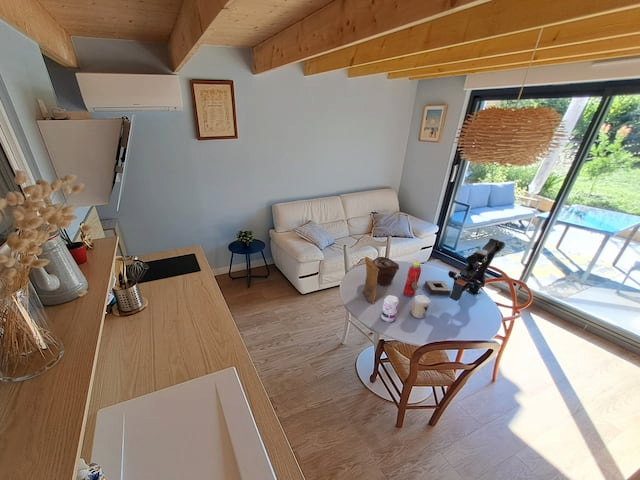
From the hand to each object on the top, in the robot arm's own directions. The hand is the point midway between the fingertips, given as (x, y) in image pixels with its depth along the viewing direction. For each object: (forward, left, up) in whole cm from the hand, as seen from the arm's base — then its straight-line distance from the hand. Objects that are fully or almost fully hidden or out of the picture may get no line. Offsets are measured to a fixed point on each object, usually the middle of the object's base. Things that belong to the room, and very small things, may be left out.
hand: (457, 290), depth 178 cm
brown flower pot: (+18, -45, -14) cm, 50 cm away
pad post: (-1, -1, -7) cm, 7 cm away
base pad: (-9, -19, -14) cm, 25 cm away
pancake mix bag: (+41, -33, -14) cm, 54 cm away
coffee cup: (+25, -4, -14) cm, 29 cm away
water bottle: (+14, -22, -14) cm, 29 cm away
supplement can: (+45, -9, -14) cm, 47 cm away
